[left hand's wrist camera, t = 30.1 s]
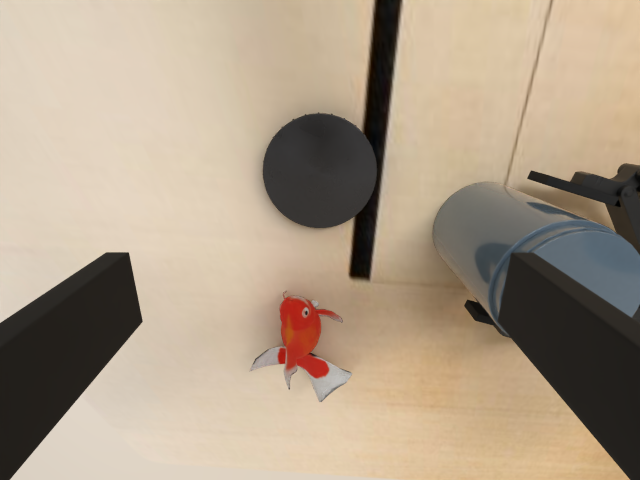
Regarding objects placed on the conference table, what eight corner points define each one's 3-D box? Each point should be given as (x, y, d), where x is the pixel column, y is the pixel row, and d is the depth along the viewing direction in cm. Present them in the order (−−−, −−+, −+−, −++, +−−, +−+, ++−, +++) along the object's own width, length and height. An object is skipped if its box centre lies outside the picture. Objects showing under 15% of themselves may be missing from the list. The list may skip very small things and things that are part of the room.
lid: (242, 155, 36) (239, 157, 35) (336, 88, 34) (337, 87, 32) (305, 242, 40) (304, 248, 38) (394, 186, 37) (398, 190, 36)
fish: (383, 297, 37) (350, 383, 30) (355, 364, 48) (326, 439, 41) (290, 258, 39) (239, 330, 32) (283, 331, 50) (245, 396, 43)
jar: (429, 191, 38) (497, 241, 23) (528, 173, 37) (662, 214, 23) (435, 277, 41) (498, 368, 27) (526, 263, 40) (641, 347, 26)
